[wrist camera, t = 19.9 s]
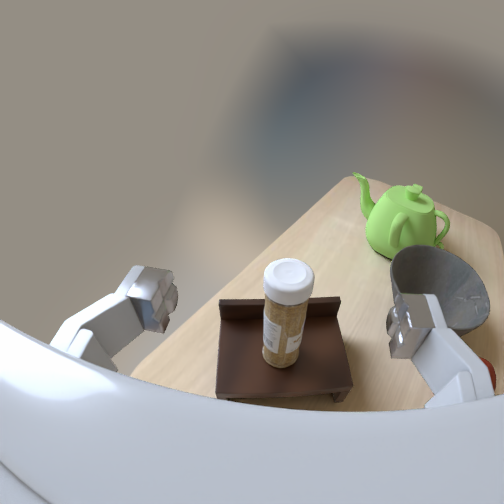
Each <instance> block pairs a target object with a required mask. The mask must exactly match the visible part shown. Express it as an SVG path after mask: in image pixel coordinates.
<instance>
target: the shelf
mask: <svg viewBox="0 0 504 504" xmlns="http://www.w3.org/2000/svg"><path fill="white" fill-rule="evenodd" d="M340 304H341V300H340V297H320V298H309V300H308V305H307V311H306V319H305V323H304V329H303V334H302V339H301V343H300V347H299V356H298V358H297V360H296V361H295V363H293V364H292V365H290V366H288V367H285V368H277V367H273V366H271V365H270V364H268V363H267V362H266V361H265V359H264V357H263V353H262V350H263V346H264V341H263V329H264V307H265V299H220V300H219V310H220V317H221V324H220V336H219V349H218V362H217V376H216V391H215V393H216V396H217V399H221V400H227V401H229V400H230V398H275V397H294V396H308V395H319V394H328V393H333V397H334V402H342V401H343V400H344V399H345V398H346V396H347V395H348V393H349V392H350V390H351V389H352V387H353V382H352V378H351V373H350V369H349V364H348V360H347V356H346V352H345V347H344V343H343V339H342V335H341V331H340V327H339V323H338V320H337V313H338V310H339V307H340Z"/></svg>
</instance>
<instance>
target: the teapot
mask: <svg viewBox="0 0 504 504" xmlns="http://www.w3.org/2000/svg"><path fill="white" fill-rule="evenodd" d="M353 174H354V176H355V177H356V178H357V179H358V181H359V183H360V187H361V199H360V205H361V210H362V213H363V215H364V216H365V217H366V219H367V224H366V237H367V240H368V242H369V244H370V246H371V247H372V248H373V249H374V250H375V251H377V252H378V253H380V254H382V255H384V256H386V257H388V258H390V259H393V258H394V256H395V255H396V254H397V253H398V252H399V251H400V250H402V249H403V248H405V247H407V246H412V245H429V246H433V247H436V245H438V246H440V249H443V248H444V246H443V244H442V243H441V242H440V240H441V239H442V238H443V237H444V236H445V235H446V234H447V232H448V230H449V228H450V221H449V219H448V217H447V215H446V214H445V213H443V212H442V211H438V210H435V207H434V203H433V201H432V199H431V198H429V197H428V196H427V195H424V194H423V193H422V189H423V187H421V186H419V185H417V184H414V185H413V186H406V187H404V186H393V187H391V188H389V189H388V190H387V191H386V192H385V193H384V194H383V195H382V197H381V198H380V199H379V200H378V202H377V203H376V204H375V203H374V202H373V201H372V199H371V197H370V192H369V184H368V181H367V179H366V178H365V177H363V176H362V175H360V174H358V173H355V172H353ZM436 216H438V217H440V218H442V219H443V220H444V222H445V227H444V229H443V231H442V232H441V233H440V234H439V235H438V236H437V237H436V229H437V225H436Z"/></svg>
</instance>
